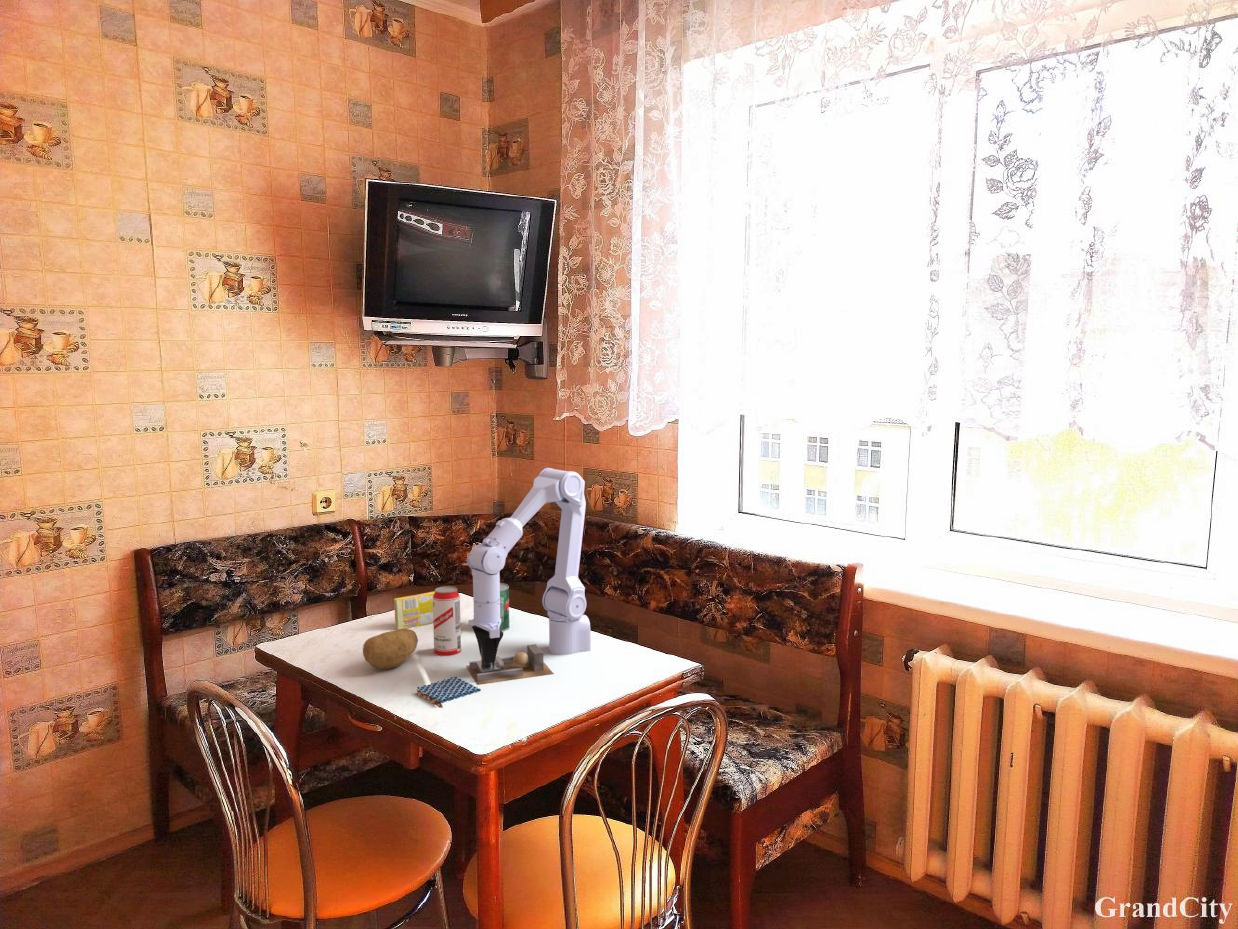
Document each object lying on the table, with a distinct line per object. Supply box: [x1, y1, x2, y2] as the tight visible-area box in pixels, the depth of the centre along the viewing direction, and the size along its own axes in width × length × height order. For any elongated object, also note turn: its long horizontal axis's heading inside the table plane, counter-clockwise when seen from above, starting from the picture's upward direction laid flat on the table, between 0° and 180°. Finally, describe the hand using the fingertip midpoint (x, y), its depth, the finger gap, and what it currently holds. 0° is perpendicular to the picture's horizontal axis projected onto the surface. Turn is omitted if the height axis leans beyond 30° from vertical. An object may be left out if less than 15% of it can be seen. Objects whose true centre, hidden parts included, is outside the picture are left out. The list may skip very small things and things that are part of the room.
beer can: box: [432, 585, 462, 657], centre depth 200 cm, size 6×6×16 cm
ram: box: [476, 647, 504, 674], centre depth 187 cm, size 5×6×6 cm
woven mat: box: [416, 676, 481, 708], centre depth 178 cm, size 10×11×2 cm
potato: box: [362, 628, 419, 669], centre depth 194 cm, size 10×14×8 cm
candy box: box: [393, 590, 435, 630], centre depth 224 cm, size 16×2×8 cm, turn 126°
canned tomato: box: [499, 582, 510, 632], centre depth 221 cm, size 8×8×11 cm
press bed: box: [465, 643, 555, 686], centre depth 189 cm, size 17×12×5 cm
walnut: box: [513, 651, 529, 668], centre depth 190 cm, size 4×4×4 cm
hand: (487, 660), depth 187 cm, fingers closed on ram, 3 cm apart
